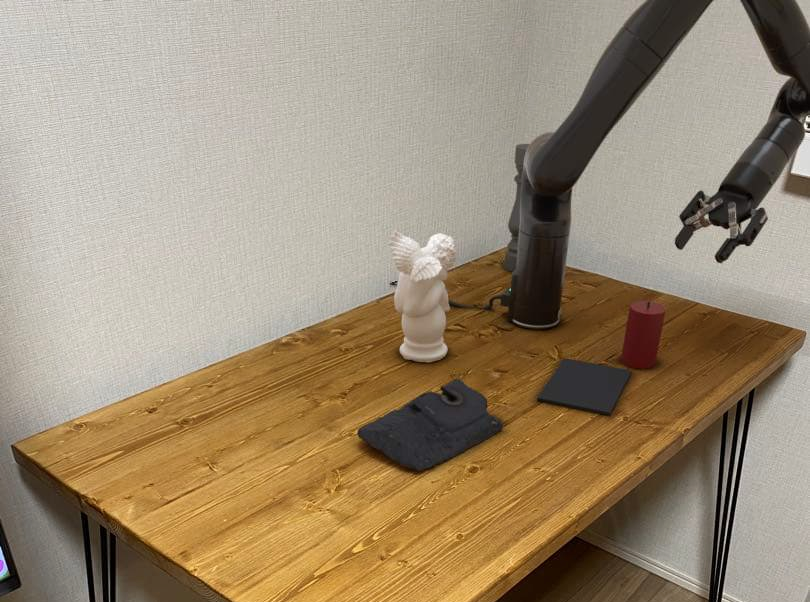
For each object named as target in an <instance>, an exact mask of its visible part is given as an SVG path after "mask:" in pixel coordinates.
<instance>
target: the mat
mask: <svg viewBox="0 0 810 602" xmlns="http://www.w3.org/2000/svg"><path fill="white" fill-rule="evenodd" d="M632 373H633V371H632V370H630V369H624V368H619V367H614V366H608V365H603V364H599V363H593V362H588V361H582V360H577V359H573V358H572V359H571V358H567V357H564V358H563V359H562V361H561V362H560V364H559V366H558V367H557V368H556V370H555V371H554V373H553V374H552V376H550V378H549V380H548V381H547V382H546V384H545V385H544V387H543V388H542V390H541V392H539V395H538V396H537V399H536V401H537V402H541V403H546V404H550V405H556V406H560V407H564V408H565V407H566V408H570V409H575V410H579V411H584V412H588V413H589V412H590V413H594V414H600V415H605V416H611V414H612V412H613V411H614V409H615V407H616V404H617V402H618V401H619V399H620V397H621V395H622V393H623V391H624V389H625V387H626V385H627V383H628V381H629V379H630V378H631V375H632Z"/></svg>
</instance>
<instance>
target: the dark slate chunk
mask: <svg viewBox="0 0 810 602" xmlns="http://www.w3.org/2000/svg"><path fill="white" fill-rule="evenodd" d="M439 390H440V391H442V392H441V393H439V392H435V391H432V390H429V391H428V392H427V391H426V392H423V393H422V394H420V395H418V396H416V397H415V398H413V399H412V400H410V401H409V402H407V403H406V404H404V405H403V406H402V407H401V408H399V409H393V410H391V411H389V412H387V413H385V414H384V415H382V416H379V417H378V418H377V419H375V420H373V421H372V422H368V423H366V424H363V425H362V426H361V427H359V428H357V437H358V438H359V439H361V440H362V441H364V442H365V443H367V444H368V445H369V446H371V447H373V449H376V450H378V451H379V452H381V453H383V454H384V455H385V456H386V457H387V458H389V459H390V460H391V461H394V462H395V463H396V464H397V463H398V464H399V465H401V466H402V467H404V468H408V469H410V470H414V471H417V472H422V471H423V470H427V469H429V468H432V467H436V466H437V465H441V464H442V463H444V462H447V461H448V460H451V459H453V458H455V457H456V456H459V455H461V454H463V453H465V452H466V451H468V450H470V449H471V448H473V447H475V446H476V445H480V444H481V443H482V442H483V441H486V440H487V439H490V438H491V437H493V436H495V434H497V433H499V432H500V431H502V429H503V427H504V425H503V424H502V419H500V418H496V417H495V416H494V415H491V414H489V413H488V410H487V409H488V399H487V397H486V396H484V394H482V392H479V391H477V390H475V389H473V388H472V387H470V386H468V385H467V384H466V383H465V382H464V381H463V380H462V379H459V378H455V379H453V380H452V381H450V382H448V383H446V384H444V385H441V386H440V389H439Z"/></svg>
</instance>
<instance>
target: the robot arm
mask: <svg viewBox="0 0 810 602" xmlns="http://www.w3.org/2000/svg"><path fill="white" fill-rule="evenodd" d="M714 1H715V0H645V1H644V2H643V3H642V4H640V6H638V8H636V9H635V10H634V11H633V12H632V13H631V14H630V16H629V17H628V18H627V19H626V20H625V21H624V23H623V24H622V26H620V28H619V29H618V31H617V32H616V33H615V35H614V36H613V38H612V39H611V40H610V42H609V43H608V44H607V46H606V48H605V49H604V50H603V52H602V54H601V55H600V56H599V59H598V61H597V62H596V64H595V66H594V68H593V70H592V72H591V74H590V76H589V78H588V80H587V83H586V85H585V87H584V89H583V91H582V93H581V94H580V97H579V98H578V100H577V102H576V104H575V106H574V107H573V108H572V110H571V111H570V113H569V114H568V116H567V117H566V118H565V119H564V120H563V121H562V122H561V124H560V125H559V126H558V128H557V129H556V130H555V131H549V132H544V133H542V134H540V135H538V136H536V137H535V138H534V139H533V140H532V141H531V142H530V143H529V144H530V145H529V147H528V148H527V151H526V153H525V157H524V163H523V173H522V186H521V199H520V226H519V237H518V248H517V259H516V269H515V271H514V272H512V273H511V278H510V280H511V281H510V286H507V287H506V288H505V290H504V291H503V292H502V293H501V294H499V295H497V294H496V295H494V296H492V297H490V298H489V300H488V305H485V306H480V307H474V306H468V305H464V304H461V303H459V302H458V303H457V302H455V301H453V300H449V299H448V303H449V306H450V305H451V306H453V307H455V308H456V307H457V308H459V309H460V308H461V309H479V310H489V309H492V308H493V306H494V301H495V300H500V303H499V306H500V307H506V308H508V309H507V310H508V311H507V322H508V323H513V325H516V326H518V327H521V328H525V329H528V330H546V329H547V330H548V329H552V328H555V327H557V325H559V323H560V316H561V315H562V310H563V306H561V305H562V298H563V291H564V283H565V275H566V267H567V259H568V258H567V257H568V250H569V243H570V234H571V226H572V197H573V188H574V186H576V184H577V183H578V182H579V180H580V178H581V177H582V175H583V174H584V172H585V170H586V169H587V167H588V166H589V164H590V163H591V161H592V160H593V157H594V156H595V155H596V153H597V151H598V150H599V149H600V147H601V145H602V144H603V143H604V141H605V140H606V139H607V137H608V135H609V134H610V133H611V131H612V130H613V129H614V127H616V125H617V124H618V123H619V122H620V121H621V120H622V119H623V118H624V116H626V114H627V112H629V110H630V109H631V108H632V107H633V105H634V104H635V103H636V102H637V100H638V99H639V98H640V97H641V95H642V94H643V93H644V92H645V90H646V89H647V88H648V87H649V86H650V84H651V83H652V82H653V81H654V79H655V78H656V77H657V76H658V74H659V73H660V72H661V70H662V69H663V68H664V67H665V65H666V63H668V61H670V59H671V57H672V56H673V54H674V53H675V52H676V50H677V49H678V48H679V46H680V45H681V44H682V42H683V41H684V40H685V39H686V38H687V36H688V35H689V34H690V32H691V31H692V30H693V28H694V27H695V26H696V24H697V23H698V21H699V20H700V19H701V17H702V16H703V15H704V14H705V12H706V11H707V10H708V8H709V7H710V6H711V4H712V3H713V2H714ZM739 1H740V3H741V5H742V7H743V9H744V11H745V13H746V15H747V17H748V19H749V21H750V23H751V25H752V27H753V29H754V32H755V34H756V36H757V38H758V40H759V42H760V44H761V46H762V48H763V51H764V53H765V54H766V56H767V58H768V61H769V62H770V65H771V66H772V69H773V70H774V71H775V72H776V73H777V74H778V75H781V76H785V77H789V78H788V79H787V80H786V81H785V82H784V83H783V84H782V86H781V87H780V89H779V91H778V93H777V95H776V97H775V99H774V102H773V105H772V107H771V110H770V112H769V115H768V118H767V120H766V123H765V124H764V125H763V126H762V128H761V129H760V131H759V132H758V133H757V135H756V136H755V137H754V139H753V140H752V142H751V143H750V144H749V145H748V146H747V147H746V148H745V149H744V151H743V152H742V153H741V155H740V156H739V158H738V159H737V160H736V161H735V163H734V164H733V166H732V167H731V168H730V170H729V172H728V173H727V174H726V176H725V177H724V179H723V180H722V181H721V183H720V184H719V187H718V190H717V192H716V193H714V194H713V195H711V196H710V195H707V194H705V192H704V190H698V191H697V193H695V195H694V196H693V198H692V199H691V200H690V201H689V203H688V204H687V205H686V206H685V207H684V209H683V210H682V211H681V213H680V214H679V216H678V217H679V220H680V221H681V224H682V225H683V226H682V228H681V229H680V231H679V232H678V234H677V235H676V237H675V238H674V245H675V247H676V249H678V250H679V251H682V250H684V248H685V247H686V245H687V244H688V242H689V241H690V239H692V237H693V236H694V233H695V232H696V231H698V230H700V229H702V228H708V227H710V226H714V227H721V228H722V229H724V230H726V231H727V230H729V237H726V239H725V240H724V241H723V243H722V244H721V246H720V247H719V249H718V250H717V251H716V253H715V254H714V259H715V261H716V263H717V264H723V263H724V262H726V261H727V260H728V259H729V258H730V256H731V255H732V254H733V253H734V251H735V250H736V248H737V247H739V246H745V247H750V246H752V244H753V243H754V242H755V240H756V238H757V237H758V235H759V234H760V232H761V231H762V229H763V228H764V226H765V224H766V223H767V221H768V219H769V216H768V214H767V211H766V209H765V208H764V207H759V206H760V205H761V203H762V202H763V201H764V199H765V198H766V196H768V194H769V192H770V191H771V189H772V188H773V187H774V185H775V184H776V182H777V181H778V180H779V178H780V177H781V175H782V174H783V172H784V170H785V168H786V166H787V165H788V164H789V162H790V161H791V159H792V158H793V156H794V155H795V154H796V152H797V151H798V149H799V148H800V147H801V145H802V144H803V141H804V140H805V137H806V129H805V126H804V124H803V123H802V122H801V119H803V118H807V116H808V115H810V25H809V23H808V21H807V19H806V16H805V15H804V12H803V10H802V8H801V6H800V5H799V3H798V2H797V1H798V0H739ZM758 207H759V208H758ZM706 215H707V217H708V218H705V216H706ZM747 220H750V221H749V222H748V224H747V226H746V227H745V228H744V230H743V231H742V223H744V222H745V221H747ZM391 282H392V281H391ZM391 282H389V285H390V286H394V285H395V284H398V281H395V282H392V283H391Z"/></svg>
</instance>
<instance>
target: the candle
mask: <svg viewBox="0 0 810 602" xmlns="http://www.w3.org/2000/svg"><path fill="white" fill-rule="evenodd" d="M666 312H667V307H665V305H663V304H660V303H658V302H654V301H648V300H639V301H634V302H631V304H630V305H629V311H628V315H627V321H626V326H625V327H626V328H625V332H624V338H623V343H622V350H621V355H620V362H621V363H622V364H623V365H625V366H626V367H629V368H633V369H639V370H644V369H646V370H648V369H650V368H653V367H654V366H655V365H656V362H657V356H658V352H659V346H660V343H661V336H662V331H663V327H664V322H665V316H666Z"/></svg>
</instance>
